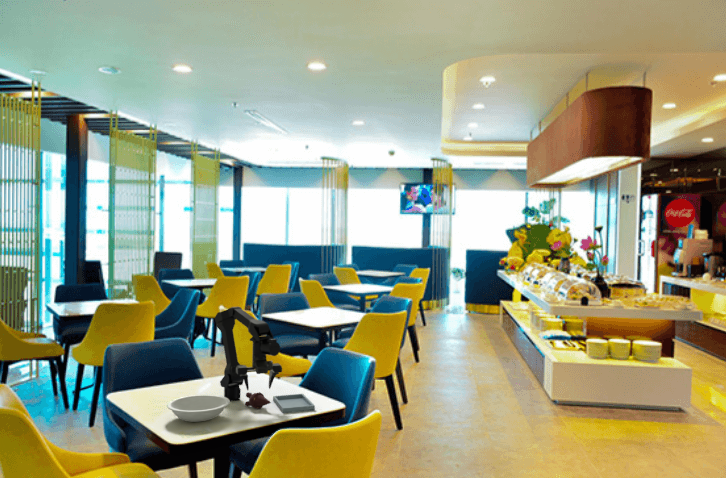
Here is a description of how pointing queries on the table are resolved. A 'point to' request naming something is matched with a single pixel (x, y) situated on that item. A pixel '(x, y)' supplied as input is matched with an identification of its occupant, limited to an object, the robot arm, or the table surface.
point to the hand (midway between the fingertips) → (258, 389)
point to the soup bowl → (198, 407)
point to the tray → (293, 403)
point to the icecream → (256, 400)
